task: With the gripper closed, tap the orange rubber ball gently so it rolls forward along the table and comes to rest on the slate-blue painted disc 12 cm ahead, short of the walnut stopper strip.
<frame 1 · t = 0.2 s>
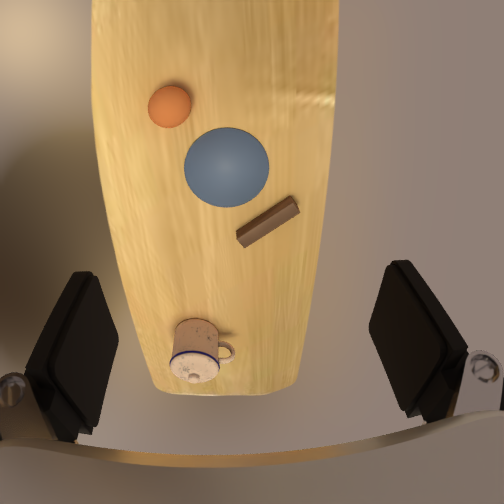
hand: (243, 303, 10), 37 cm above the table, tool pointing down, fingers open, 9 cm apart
teacup with lid: (204, 332, 63), on the table
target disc: (226, 168, 45), on the table
ball: (169, 107, 37), on the table
stopper strip: (266, 218, 50), on the table
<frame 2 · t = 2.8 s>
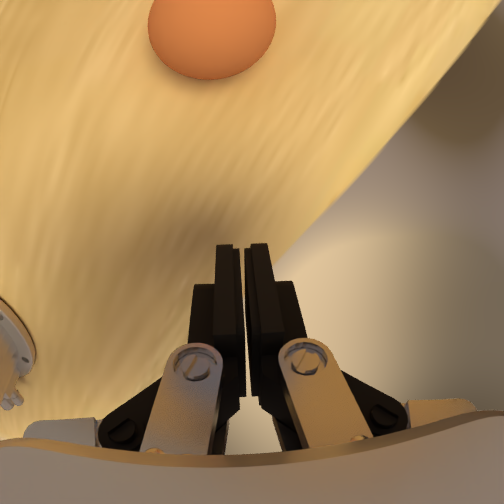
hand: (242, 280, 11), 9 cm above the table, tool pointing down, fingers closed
ball: (211, 22, 11), on the table
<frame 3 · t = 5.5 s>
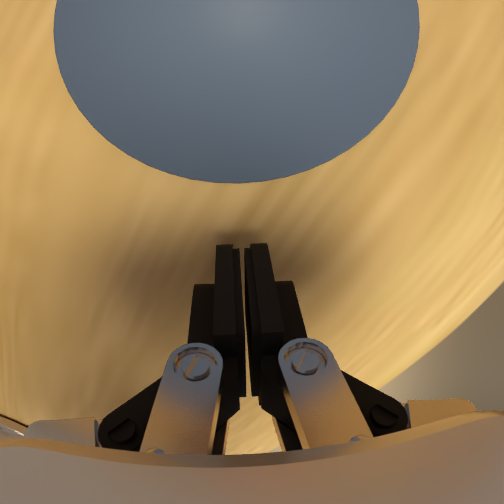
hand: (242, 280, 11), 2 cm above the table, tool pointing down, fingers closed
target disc: (238, 3, 7), on the table
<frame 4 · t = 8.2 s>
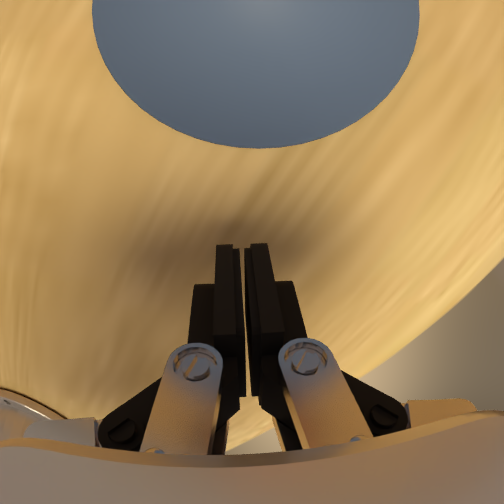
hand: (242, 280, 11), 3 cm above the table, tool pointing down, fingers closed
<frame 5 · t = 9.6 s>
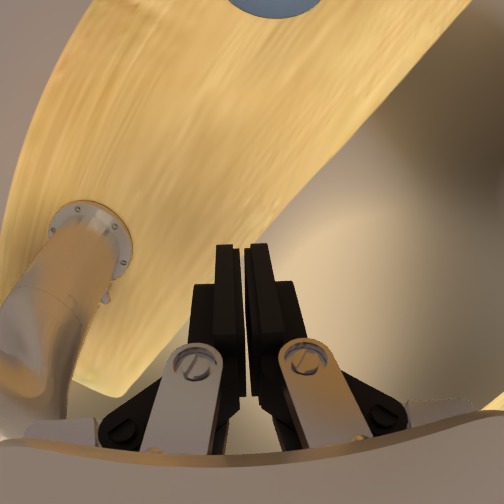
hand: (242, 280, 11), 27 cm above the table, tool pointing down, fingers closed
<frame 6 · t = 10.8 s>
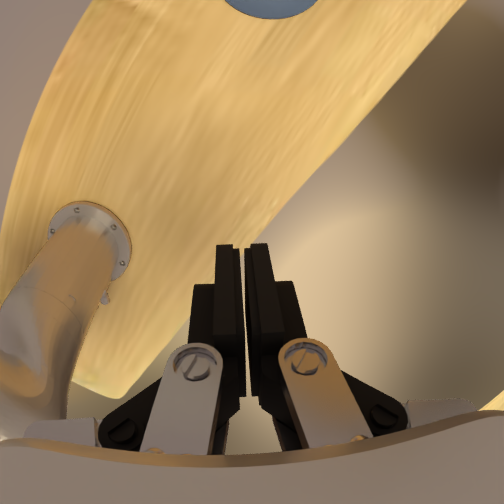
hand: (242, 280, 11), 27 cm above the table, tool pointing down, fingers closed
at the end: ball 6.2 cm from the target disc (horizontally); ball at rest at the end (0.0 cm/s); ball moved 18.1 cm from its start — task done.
